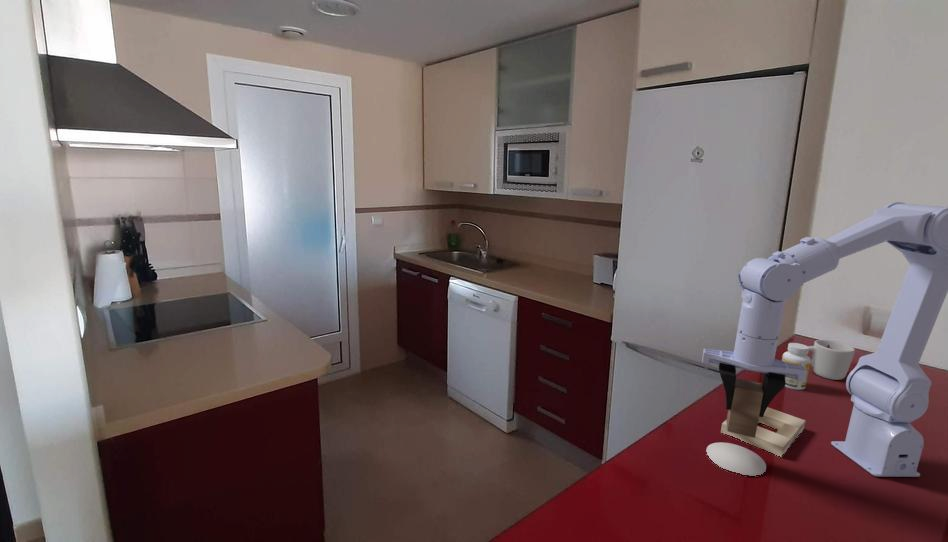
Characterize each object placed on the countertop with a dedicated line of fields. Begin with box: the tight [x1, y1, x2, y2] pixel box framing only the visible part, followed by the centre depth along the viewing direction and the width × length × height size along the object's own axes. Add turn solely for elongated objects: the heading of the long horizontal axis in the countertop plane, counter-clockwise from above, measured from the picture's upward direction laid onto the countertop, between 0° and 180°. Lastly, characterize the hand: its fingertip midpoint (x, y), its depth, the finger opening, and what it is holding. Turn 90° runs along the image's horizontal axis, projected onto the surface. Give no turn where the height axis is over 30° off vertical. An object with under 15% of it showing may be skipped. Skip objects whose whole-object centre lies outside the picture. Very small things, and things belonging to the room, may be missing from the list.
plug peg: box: [725, 377, 763, 438], centre depth 79 cm, size 4×4×8 cm
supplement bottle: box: [781, 342, 811, 391], centre depth 109 cm, size 5×5×10 cm
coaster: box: [705, 441, 767, 477], centre depth 80 cm, size 9×9×1 cm
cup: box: [807, 339, 856, 381], centre depth 116 cm, size 11×8×8 cm
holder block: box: [720, 406, 806, 458], centre depth 89 cm, size 10×14×2 cm
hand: (743, 410), depth 78 cm, fingers closed on plug peg, 4 cm apart
